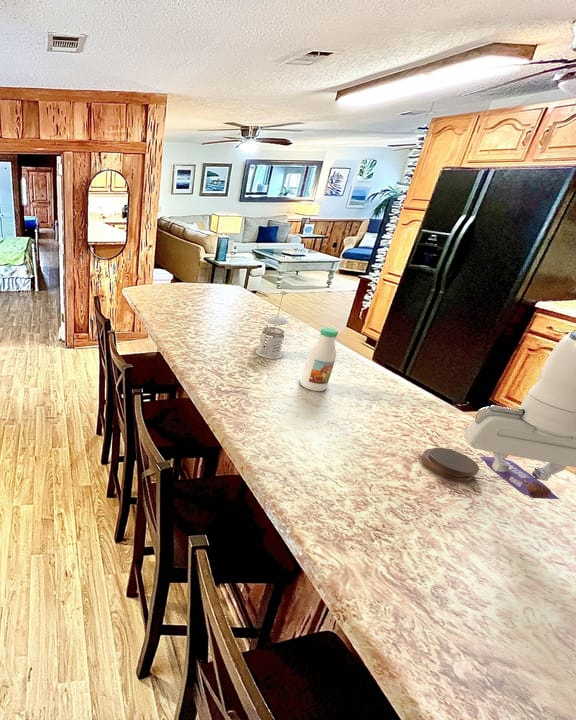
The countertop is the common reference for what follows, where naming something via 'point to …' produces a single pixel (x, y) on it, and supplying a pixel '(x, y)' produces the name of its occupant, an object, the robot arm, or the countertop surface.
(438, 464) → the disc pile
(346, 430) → the countertop surface
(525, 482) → the snack package
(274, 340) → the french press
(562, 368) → the robot arm
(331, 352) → the milk bottle
